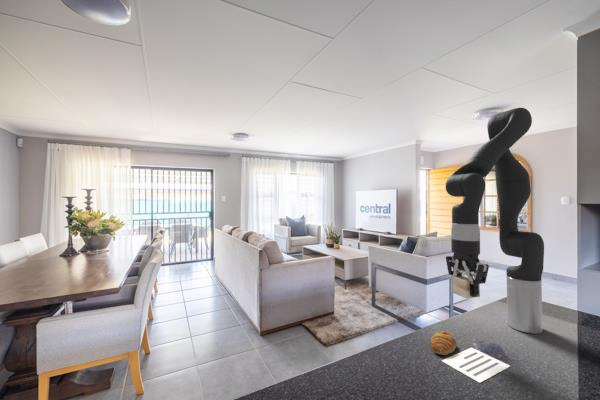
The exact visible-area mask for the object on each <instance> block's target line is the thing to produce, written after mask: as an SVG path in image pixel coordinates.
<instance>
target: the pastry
mask: <svg viewBox="0 0 600 400" xmlns="http://www.w3.org/2000/svg"><path fill="white" fill-rule="evenodd" d="M430 345H431V347H430V348H431V350H432V352H433V353H434V354H438V355H442V356H448V355H450V354H453V353H454V351H455V350H456V347H457V345H458V343H457V341H456V340H455V338H454V336H453V335H452V334H451V333H449V332H448V331H446V330H445V331H442V330H441V331H437V332H435V334H433V335H432V336H431V338H430Z"/></svg>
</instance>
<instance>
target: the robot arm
mask: <svg viewBox="0 0 600 400" xmlns="http://www.w3.org/2000/svg"><path fill="white" fill-rule="evenodd" d="M532 123H533V117H532V115H531V112H530V111H529V110H528V109H527V108H525V107H516V108H511V109H508V110H506V111H501V112H499V113H496V114H493V115H491V116H490V117H489V119H488V121H487V127H486V128H487V135H488V139H489V140H488V141H487V142H485V143H484V144H483V145H481V146H480V147H478V148H477V149H476V150H475V151H474V152H473V154H472V155H471V156H470V158H469V159H468V160H467V162H466V163H464V164H463V165H462V166H460V167H459V168H458V169H456V170H455V171H453V172H452V173H451V174H450V176H448V178H447V180H446V182H445V191H446V192H447V194H448V195H450V196H451V197H456V198H457V197H458V198H459V197H460V198H461V197H462V198H464V199H463V202H462V203H459V204H455V205H454V206H452V208H451V230H450V231H451V232H450V234H451V235H450V237H451V240H450V241H451V242H450V243H451V244H450V245H451V252H452V253H453V255H447V256H445V260H446V261H445V263H446V267H447V273H448V275H449V276H452V278H453V277H457V276H464V273H465V276H468V277H469V281H470V283H471V284H470V296H472V297H473V298H478V297H477V296H478V294H479V284H480V285H481V284H486V283H487V282H486V281H487V278H488V272H489V268H490V266H489V264H488V263H482V262H480V259H479V255H480V254H481V232H480V231H481V230H480V226H479V224H480V223H479V218H480V217H479V215H480V214H479V211H480V207H481V204H482V200H483V197H484V193H485V190H486V181H485V179H484V178H485V177H487V176H488V175H489V174H490V172H491V171H492V170H493V168H494V174H495V186H496V187H495V188H496V194H497V199H498V200H497V201H498V211H499V213H498V214H499V215H498V216H499V230H498V231H499V232H498V233H499V237H498V238H499V239H498V240H499V246H500V249H501V251H502V252H503V254H504V255H506V256H510V257H514V258H519V259H521V261H520V264H519V265H513V266H509V267H507V268H506V270H505V271H506V305H507V306H506V307H507V308H506V309H507V310H506V311H507V312H506V313H507V316H506V317H507V318H506V319H507V325H508V326H509V327H510V328H512V329H514V330H516V331H519V332H521V333H522V332H523V333H527V334H535V335H536V334H543V332H544V331H543V329H544V328H543V294H542V293H543V290H542V286H543V285H542V283H543V282H542V277H543V276H542V275H543V271H544V263H545V262H544V260H545V259H544V257H545V243H544V238H543V237H542V235H540V234H539V233H538V232H532V231H522V230H519V226H518V223H519V222H518V221H519V217H520V213H521V211H522V209H523V208H524V207H525V205H526V203H527V202H528V200H529V198H530V196H531V194H532V193H531V192H532V189H531V179H530V173H529V172H528V170H527V169H526V167H525V166H524V165H523V164H522V163H521V162H520V161H519V160H518V159H517V158H516V157H515V155H513V153H512V151H511V150H510V149H511V148H512V147H513V146H514V145H515V144H516V143H517V142H518V141H519V140H520V139H521V138H523V136H525V134H527V133H528V131H529V130H531V126H532ZM473 278H474V279H475V280H474V279H473Z"/></svg>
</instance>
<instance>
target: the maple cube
mask: <svg viewBox="0 0 600 400" xmlns="http://www.w3.org/2000/svg"><path fill="white" fill-rule="evenodd" d="M473 279H474V277H473ZM474 280H475V279H474ZM470 284H471V283H470V281H469V277H468V276H467V275H462V276H457V277H453V276H452V294H455V295H458V296H460V297H462V298H464V299H471V298H472V299H473V298H474V297H472V296H470ZM480 285H481V284H479V294H478V296H477V297H476V298H480V297H481V294H480V293H481V289H480V288H481V286H480Z"/></svg>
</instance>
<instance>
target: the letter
mask: <svg viewBox="0 0 600 400" xmlns="http://www.w3.org/2000/svg"><path fill="white" fill-rule="evenodd" d="M440 361H441V362H442V363H443V364H445V365H448V366H449V367H451V368H453V369H454V370H456V371H458V372H460V373H461V374H462V375H464V376H467V377H468V378H470V379H472V380H474V381H475V382H477V383H479V384H481V383H482V382H485V381H486V380H488V379H490V378H492V377H494V376H495V375H497V374H499V373H500V372H503V371H505V370H507V369H509V368H510V367H511V365H509V364H508V363H505V362H503V361H501V360H499V359H497V358H495V357H492V356H490V355H489V354H486V353H485V352H482V351H480V350H478V349H475V348H473V347H469V348H466V349H465V350H462V351H460V352H458V353H455V354H453V355H451V356H448V357H446V358H444V359H442V360H440Z"/></svg>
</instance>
